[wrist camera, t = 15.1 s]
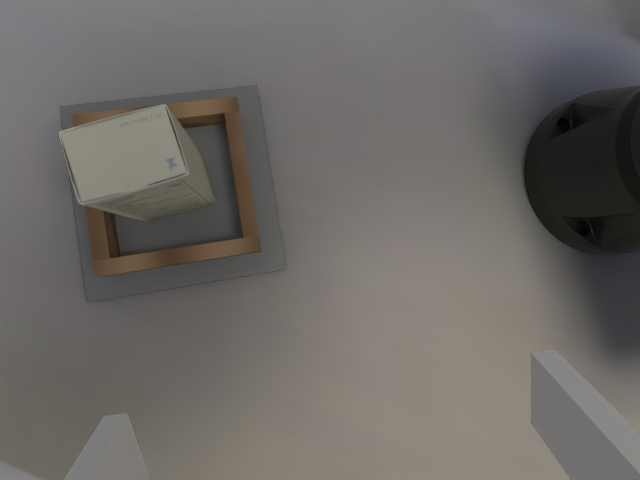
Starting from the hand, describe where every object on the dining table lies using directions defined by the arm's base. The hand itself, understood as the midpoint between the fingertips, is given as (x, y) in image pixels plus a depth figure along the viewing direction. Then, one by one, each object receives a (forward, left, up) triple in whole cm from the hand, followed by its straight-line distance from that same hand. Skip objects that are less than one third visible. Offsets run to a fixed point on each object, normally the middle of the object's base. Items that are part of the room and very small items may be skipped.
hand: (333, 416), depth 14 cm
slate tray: (+8, -13, -23) cm, 28 cm away
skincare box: (+8, -13, -22) cm, 27 cm away
